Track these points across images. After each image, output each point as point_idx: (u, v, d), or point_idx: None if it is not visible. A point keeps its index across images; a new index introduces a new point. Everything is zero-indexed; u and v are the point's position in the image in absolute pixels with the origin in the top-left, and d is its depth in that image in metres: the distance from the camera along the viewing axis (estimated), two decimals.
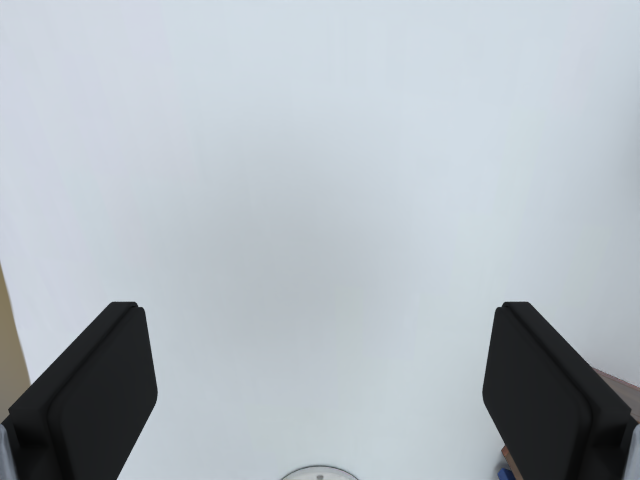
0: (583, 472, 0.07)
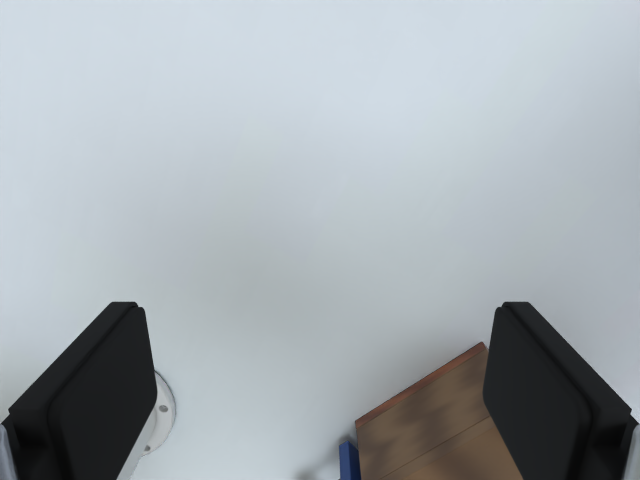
0: (584, 473, 0.07)
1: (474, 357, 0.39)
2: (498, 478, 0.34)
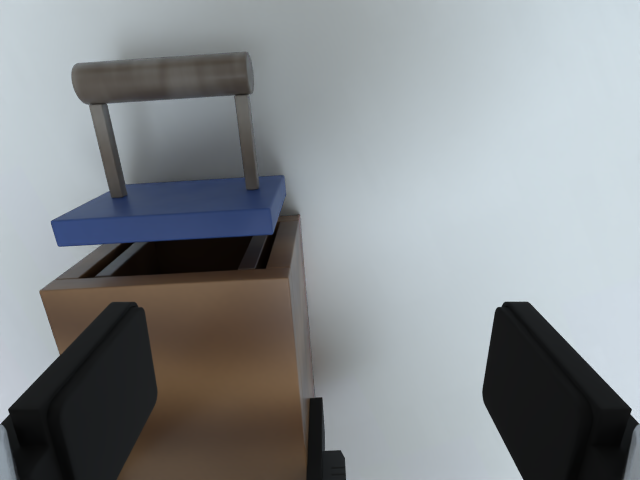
0: (583, 473, 0.07)
1: None
2: (212, 463, 0.21)
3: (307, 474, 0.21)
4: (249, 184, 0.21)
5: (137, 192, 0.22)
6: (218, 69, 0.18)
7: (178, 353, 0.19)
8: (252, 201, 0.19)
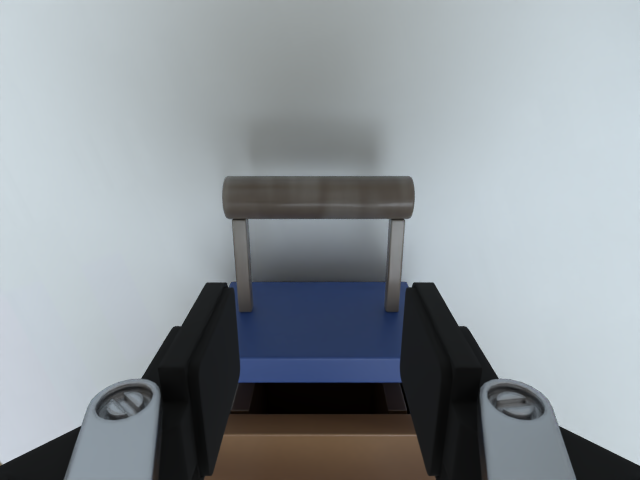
0: (449, 425, 0.09)
1: None
2: None
3: None
4: (390, 306, 0.19)
5: (261, 302, 0.20)
6: (384, 197, 0.17)
7: None
8: None
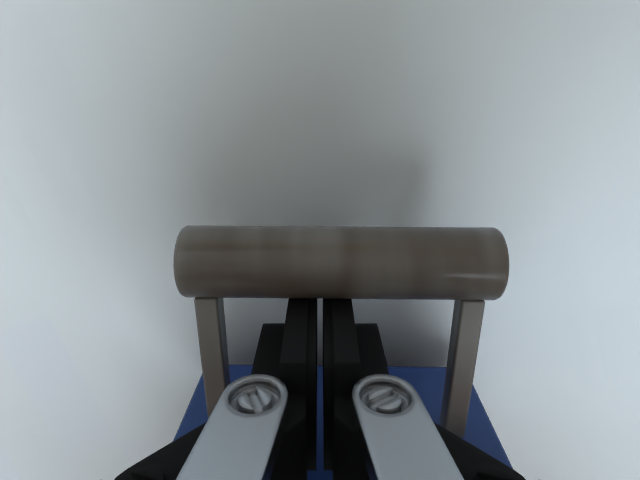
0: (334, 421, 0.09)
1: None
2: None
3: None
4: (452, 430, 0.12)
5: None
6: (455, 269, 0.10)
7: None
8: None
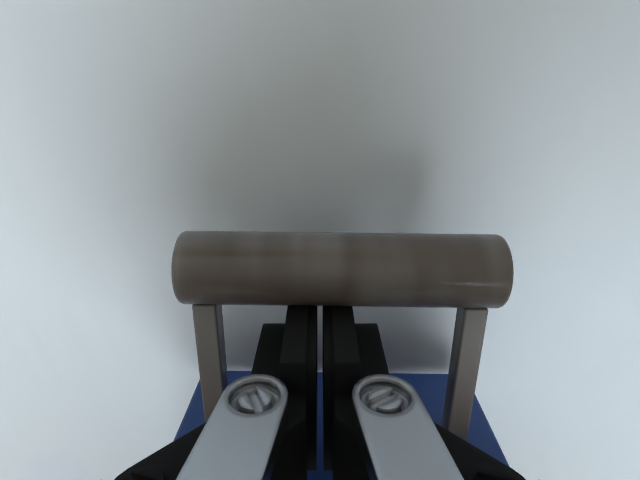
0: (334, 420, 0.09)
1: None
2: None
3: None
4: None
5: None
6: (458, 276, 0.10)
7: None
8: None
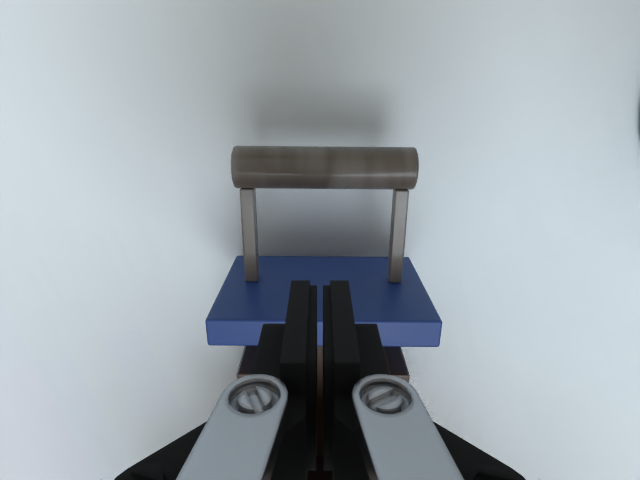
0: (334, 421, 0.09)
1: None
2: None
3: None
4: (393, 277, 0.20)
5: (267, 273, 0.21)
6: (388, 167, 0.17)
7: None
8: (412, 305, 0.18)
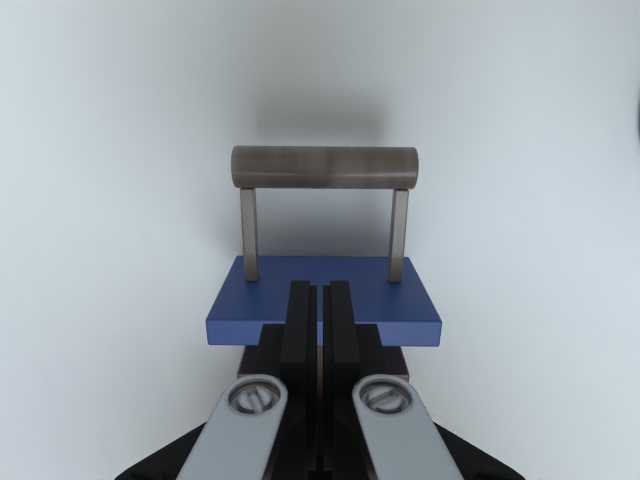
0: (334, 421, 0.09)
1: None
2: None
3: None
4: (393, 277, 0.20)
5: (267, 273, 0.21)
6: (388, 166, 0.17)
7: None
8: (412, 304, 0.18)
